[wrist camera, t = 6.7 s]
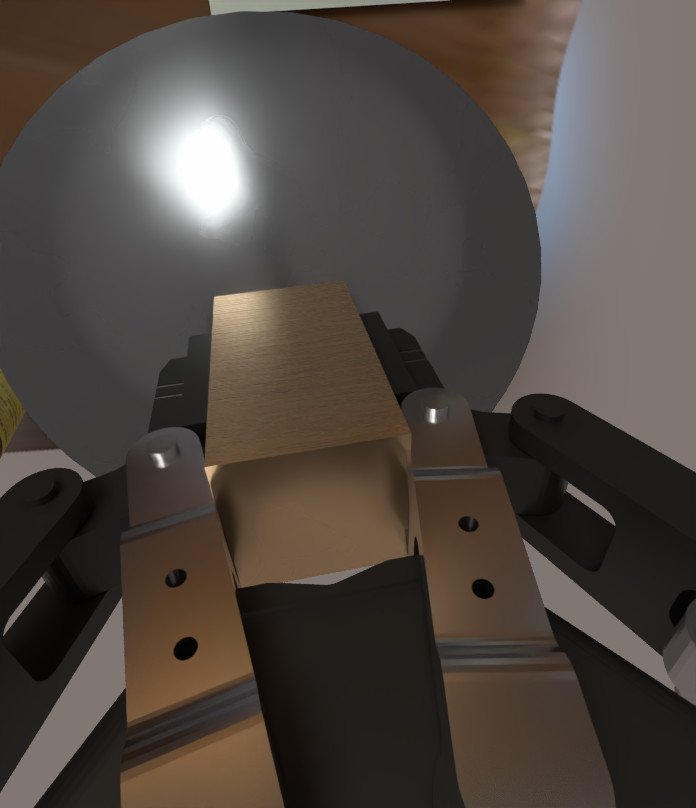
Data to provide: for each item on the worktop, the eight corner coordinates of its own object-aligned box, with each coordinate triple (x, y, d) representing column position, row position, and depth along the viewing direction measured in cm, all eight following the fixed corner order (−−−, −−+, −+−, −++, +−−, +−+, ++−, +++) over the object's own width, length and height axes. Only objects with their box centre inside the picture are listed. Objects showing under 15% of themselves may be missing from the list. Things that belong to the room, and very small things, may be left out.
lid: (-156, 37, 9) (-703, 61, 4) (577, -10, 11) (923, -39, 5) (108, 536, 18) (54, 762, 12) (495, 469, 19) (597, 643, 14)
